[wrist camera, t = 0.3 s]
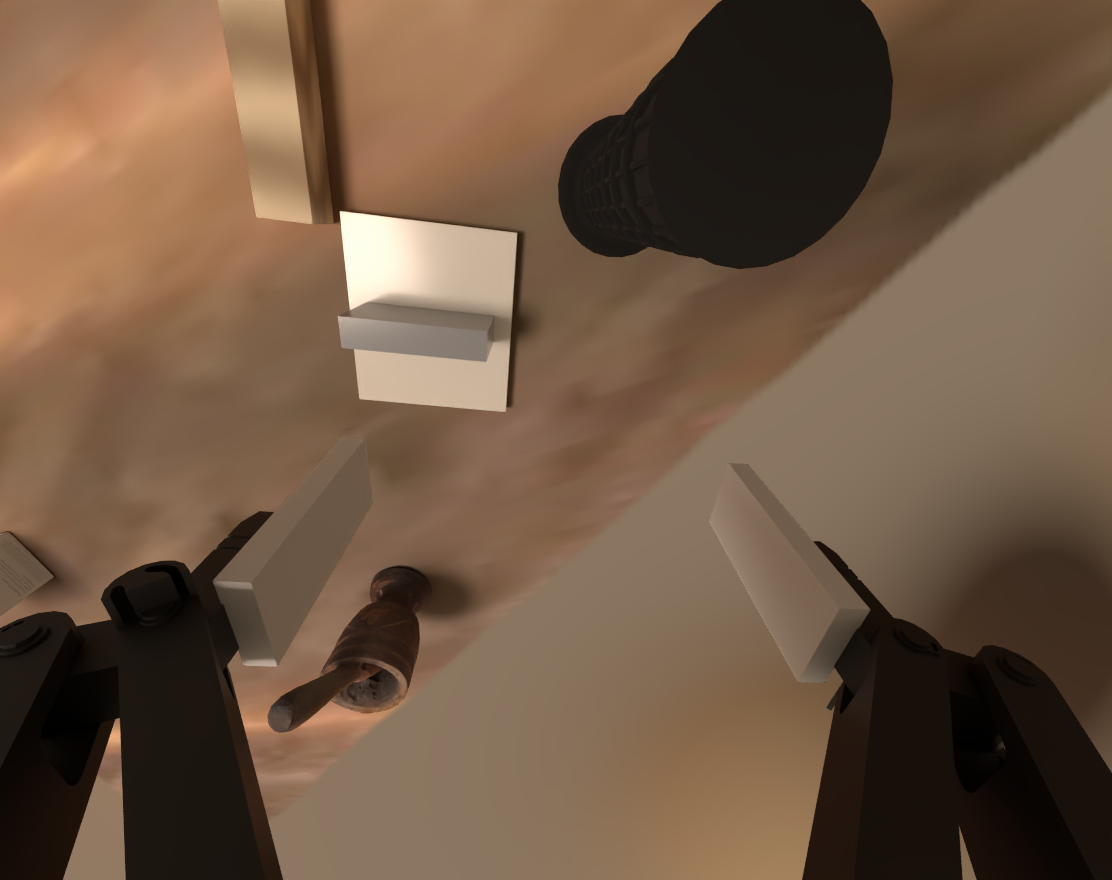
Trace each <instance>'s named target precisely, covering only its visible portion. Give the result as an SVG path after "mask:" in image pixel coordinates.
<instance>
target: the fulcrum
mask: <svg viewBox="0 0 1112 880" xmlns="http://www.w3.org/2000/svg"><path fill="white" fill-rule="evenodd" d="M340 219H341V228H342V238H343V247H344V257H345V266H346V276H347V285H348V295H349V304H350V311H347V312H345V313H343V314H341V315H339V316H338V321H339V329H340V338H341V346H342V348H347V349H354V352H355V361H356V371H357V380H358V390H359V399H366V400H377V401H388V402H400V403H411V404H422V405H433V406H445V407H456V408H467V409H478V410H490V411H501V412H506V407H507V391H508V376H509V360H510V345H511V329H512V314H513V298H514V283H515V267H516V252H517V236H518V233H517V232H509V231H501V230H493V229H485V228H476V227H468V226H460V225H452V224H444V223H436V222H428V221H420V220H412V219H404V218H396V217H387V216H379V215H371V214H363V213H355V212H347V211H340Z"/></svg>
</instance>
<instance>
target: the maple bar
mask: <svg viewBox="0 0 1112 880" xmlns="http://www.w3.org/2000/svg"><path fill="white" fill-rule="evenodd" d="M218 5H219V10H220V16H221V21H222V27H223V33H224V38H225V44H226V49H227V55H228V61H229V66H230V72H231V77H232V83H233V89H234V94H235V100H236V105H237V111H238V117H239V122H240V128H241V133H242V139H243V145H244V150H245V156H246V161H247V167H248V173H249V178H250V184H251V189H252V195H253V201H254V206H255V212H256V217H261V218H269V219H277V220H284V221H292V222H300V223H308V224H334V220H333V211H332V201H331V192H330V182H329V173H328V163H327V154H326V144H325V135H324V125H323V116H322V107H321V97H320V88H319V78H318V69H317V59H316V50H315V40H314V31H313V22H312V12H311V3H310V0H218Z"/></svg>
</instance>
